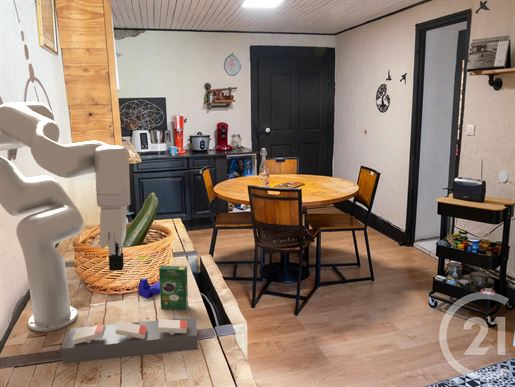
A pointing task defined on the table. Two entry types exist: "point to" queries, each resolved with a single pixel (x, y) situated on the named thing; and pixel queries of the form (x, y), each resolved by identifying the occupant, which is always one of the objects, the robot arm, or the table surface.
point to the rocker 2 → (131, 330)
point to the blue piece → (148, 289)
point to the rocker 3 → (172, 326)
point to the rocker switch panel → (130, 343)
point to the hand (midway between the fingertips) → (116, 268)
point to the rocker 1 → (89, 334)
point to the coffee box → (173, 287)
